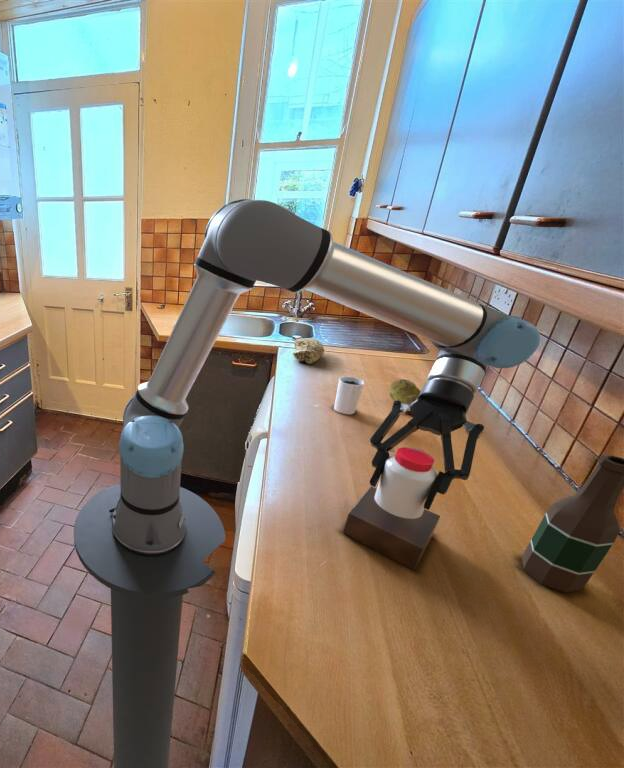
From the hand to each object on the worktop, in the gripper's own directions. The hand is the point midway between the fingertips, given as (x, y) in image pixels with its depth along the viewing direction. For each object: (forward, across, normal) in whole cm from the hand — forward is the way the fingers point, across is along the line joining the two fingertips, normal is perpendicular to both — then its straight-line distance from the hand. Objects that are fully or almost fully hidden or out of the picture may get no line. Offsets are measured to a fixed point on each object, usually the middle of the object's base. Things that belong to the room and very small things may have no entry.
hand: (398, 495), depth 73 cm
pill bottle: (+1, 0, -5) cm, 5 cm away
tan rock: (-55, +56, -72) cm, 106 cm away
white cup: (-28, +26, -45) cm, 59 cm away
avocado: (-39, +14, -55) cm, 69 cm away
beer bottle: (-1, -22, -18) cm, 28 cm away
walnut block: (+6, 0, -10) cm, 12 cm away
